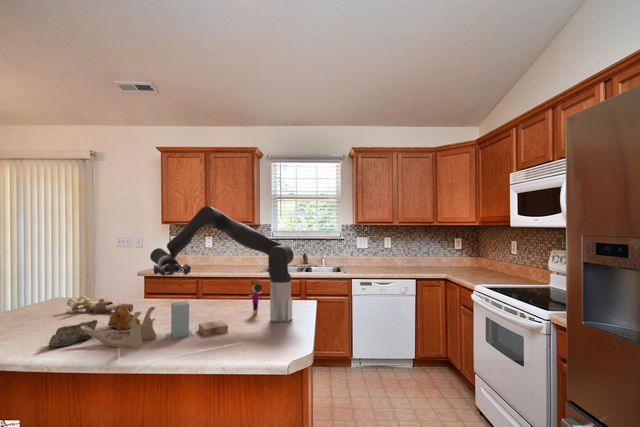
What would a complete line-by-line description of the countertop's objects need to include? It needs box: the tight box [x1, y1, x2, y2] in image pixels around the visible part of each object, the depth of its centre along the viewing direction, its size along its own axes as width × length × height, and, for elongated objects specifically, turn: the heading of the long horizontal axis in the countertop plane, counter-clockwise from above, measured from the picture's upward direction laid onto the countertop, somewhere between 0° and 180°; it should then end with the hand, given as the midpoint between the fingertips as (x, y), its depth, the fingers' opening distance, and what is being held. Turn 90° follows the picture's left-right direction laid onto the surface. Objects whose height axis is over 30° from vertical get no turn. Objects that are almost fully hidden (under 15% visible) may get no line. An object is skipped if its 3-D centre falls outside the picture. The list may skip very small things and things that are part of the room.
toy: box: [248, 282, 263, 315], centre depth 159 cm, size 10×6×15 cm, turn 154°
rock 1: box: [48, 319, 98, 348], centre depth 122 cm, size 17×7×10 cm
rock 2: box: [107, 308, 141, 331], centre depth 138 cm, size 11×8×10 cm
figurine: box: [66, 295, 134, 314], centre depth 164 cm, size 24×7×30 cm
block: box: [170, 300, 190, 338], centre depth 128 cm, size 6×6×12 cm
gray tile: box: [165, 329, 195, 341], centre depth 128 cm, size 9×9×1 cm
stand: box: [198, 319, 229, 337], centre depth 132 cm, size 9×9×3 cm
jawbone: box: [81, 306, 157, 350], centre depth 119 cm, size 25×10×14 cm, turn 86°
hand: (175, 272), depth 137 cm, fingers open, 8 cm apart
